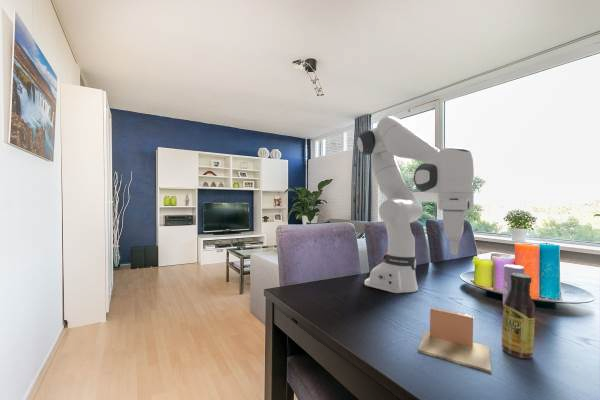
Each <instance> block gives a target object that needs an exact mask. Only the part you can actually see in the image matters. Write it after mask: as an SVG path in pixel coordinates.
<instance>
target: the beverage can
mask: <svg viewBox="0 0 600 400" xmlns="http://www.w3.org/2000/svg"><path fill="white" fill-rule="evenodd" d="M502 270H503V272H502V273H503V274H502V276H503V279H502V280H503V281H502V287H503V288H502V289H503V290H502V293H503V294H502V305H503V306H504V302H505V300H506V298H507V296H508V294H509V292H510V288H511V279H510V277H511V273H520V274H525V272H526V271H525V267H524V266H522V265H517V264H509V263H506V264H504V265H503V269H502ZM525 275H526V274H525Z"/></svg>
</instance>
